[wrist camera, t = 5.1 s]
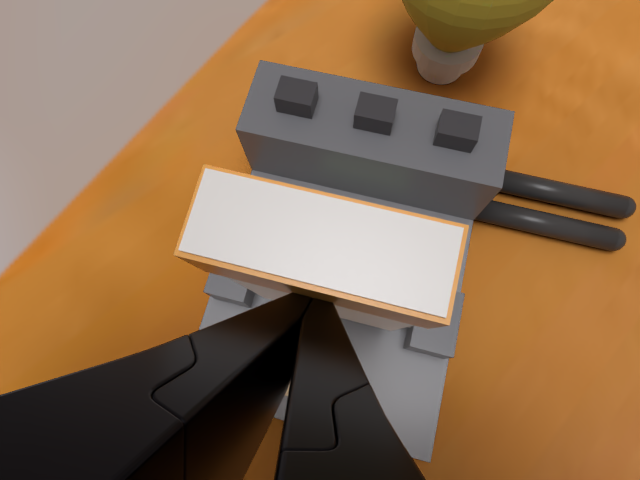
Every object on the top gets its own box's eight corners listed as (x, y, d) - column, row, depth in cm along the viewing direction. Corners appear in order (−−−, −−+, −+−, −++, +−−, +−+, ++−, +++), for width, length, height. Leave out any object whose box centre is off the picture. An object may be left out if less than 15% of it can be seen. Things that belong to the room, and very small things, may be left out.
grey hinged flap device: (604, 509, 17) (721, 569, 12) (187, 389, 19) (129, 395, 13) (628, 197, 20) (727, 137, 15) (274, 121, 22) (256, 44, 17)
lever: (392, 334, 16) (451, 325, 7) (261, 300, 17) (171, 254, 8) (403, 286, 17) (470, 223, 8) (274, 254, 17) (201, 161, 8)
